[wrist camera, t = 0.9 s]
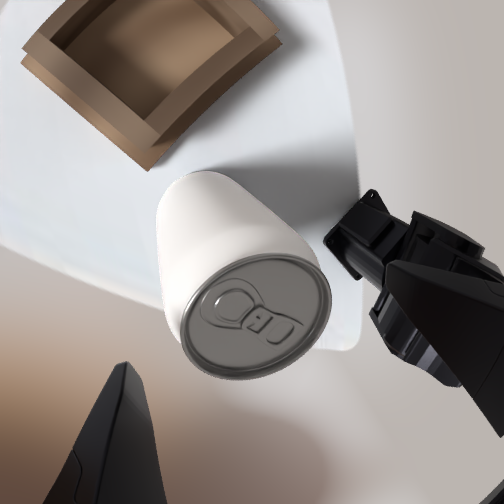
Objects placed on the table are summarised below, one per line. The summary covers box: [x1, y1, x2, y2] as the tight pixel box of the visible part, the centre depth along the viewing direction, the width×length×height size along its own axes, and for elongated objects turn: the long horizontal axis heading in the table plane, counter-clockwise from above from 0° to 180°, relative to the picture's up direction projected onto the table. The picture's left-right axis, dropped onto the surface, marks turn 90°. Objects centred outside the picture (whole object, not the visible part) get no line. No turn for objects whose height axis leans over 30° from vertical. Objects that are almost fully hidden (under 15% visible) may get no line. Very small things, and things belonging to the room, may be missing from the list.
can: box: [156, 171, 332, 380], centre depth 15 cm, size 6×6×12 cm
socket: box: [21, 0, 282, 172], centre depth 12 cm, size 12×12×4 cm
